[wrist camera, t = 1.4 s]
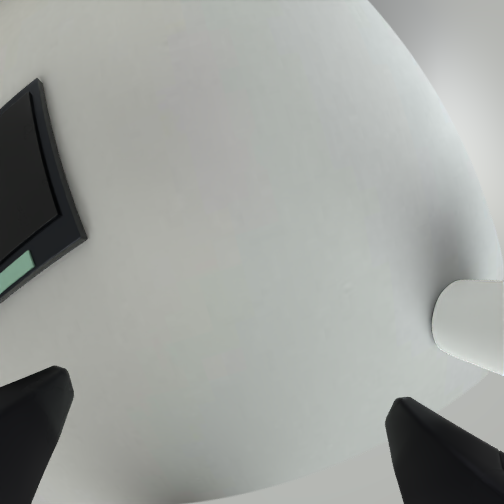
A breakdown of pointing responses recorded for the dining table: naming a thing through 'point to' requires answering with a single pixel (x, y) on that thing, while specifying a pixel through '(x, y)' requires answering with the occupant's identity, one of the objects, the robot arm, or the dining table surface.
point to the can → (472, 323)
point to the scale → (32, 193)
